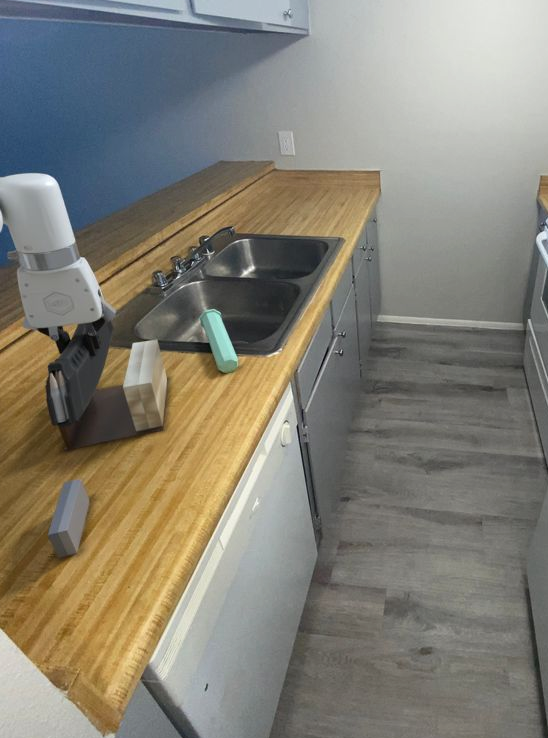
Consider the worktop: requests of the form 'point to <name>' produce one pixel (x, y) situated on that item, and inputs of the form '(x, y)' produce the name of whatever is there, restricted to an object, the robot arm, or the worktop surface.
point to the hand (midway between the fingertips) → (82, 353)
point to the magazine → (75, 376)
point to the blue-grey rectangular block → (69, 518)
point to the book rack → (125, 403)
